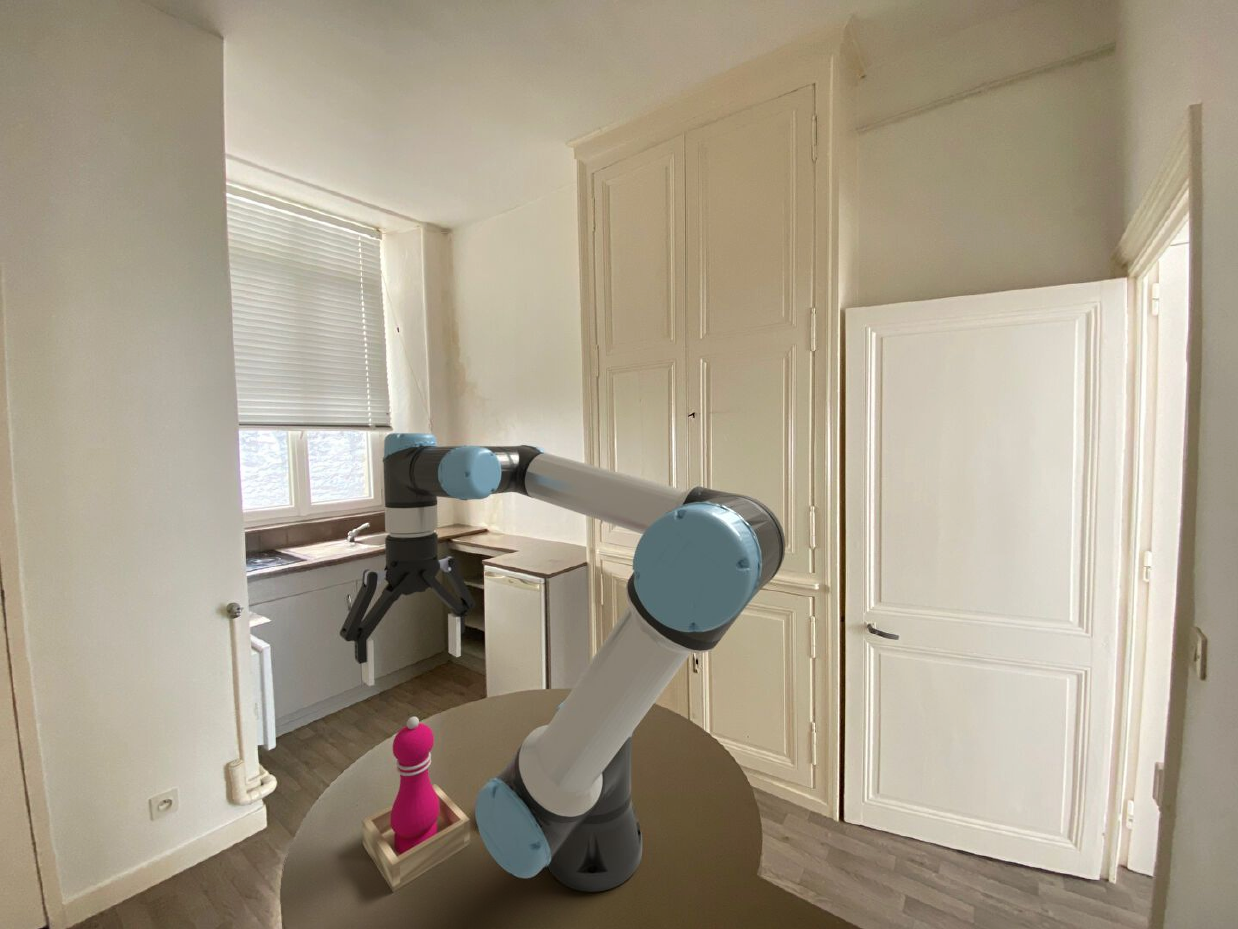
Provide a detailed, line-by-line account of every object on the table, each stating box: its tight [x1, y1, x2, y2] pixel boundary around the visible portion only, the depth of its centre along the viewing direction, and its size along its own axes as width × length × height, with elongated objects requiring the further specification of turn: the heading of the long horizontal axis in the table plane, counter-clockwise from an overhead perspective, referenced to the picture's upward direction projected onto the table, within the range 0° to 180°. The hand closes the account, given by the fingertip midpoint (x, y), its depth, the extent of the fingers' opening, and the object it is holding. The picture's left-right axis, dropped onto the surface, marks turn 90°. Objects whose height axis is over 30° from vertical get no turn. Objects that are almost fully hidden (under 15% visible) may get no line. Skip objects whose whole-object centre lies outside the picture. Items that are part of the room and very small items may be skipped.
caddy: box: [362, 783, 471, 893], centre depth 79 cm, size 12×12×4 cm
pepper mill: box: [390, 716, 440, 854], centre depth 78 cm, size 7×7×20 cm
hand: (414, 667), depth 78 cm, fingers open, 13 cm apart
